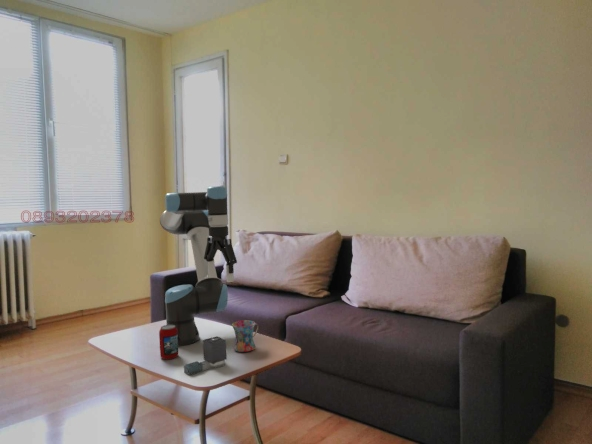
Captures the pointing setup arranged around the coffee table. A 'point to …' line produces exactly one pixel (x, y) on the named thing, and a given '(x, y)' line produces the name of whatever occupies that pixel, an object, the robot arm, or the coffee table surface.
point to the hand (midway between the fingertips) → (220, 279)
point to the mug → (244, 335)
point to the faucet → (201, 366)
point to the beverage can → (168, 342)
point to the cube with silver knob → (214, 349)
